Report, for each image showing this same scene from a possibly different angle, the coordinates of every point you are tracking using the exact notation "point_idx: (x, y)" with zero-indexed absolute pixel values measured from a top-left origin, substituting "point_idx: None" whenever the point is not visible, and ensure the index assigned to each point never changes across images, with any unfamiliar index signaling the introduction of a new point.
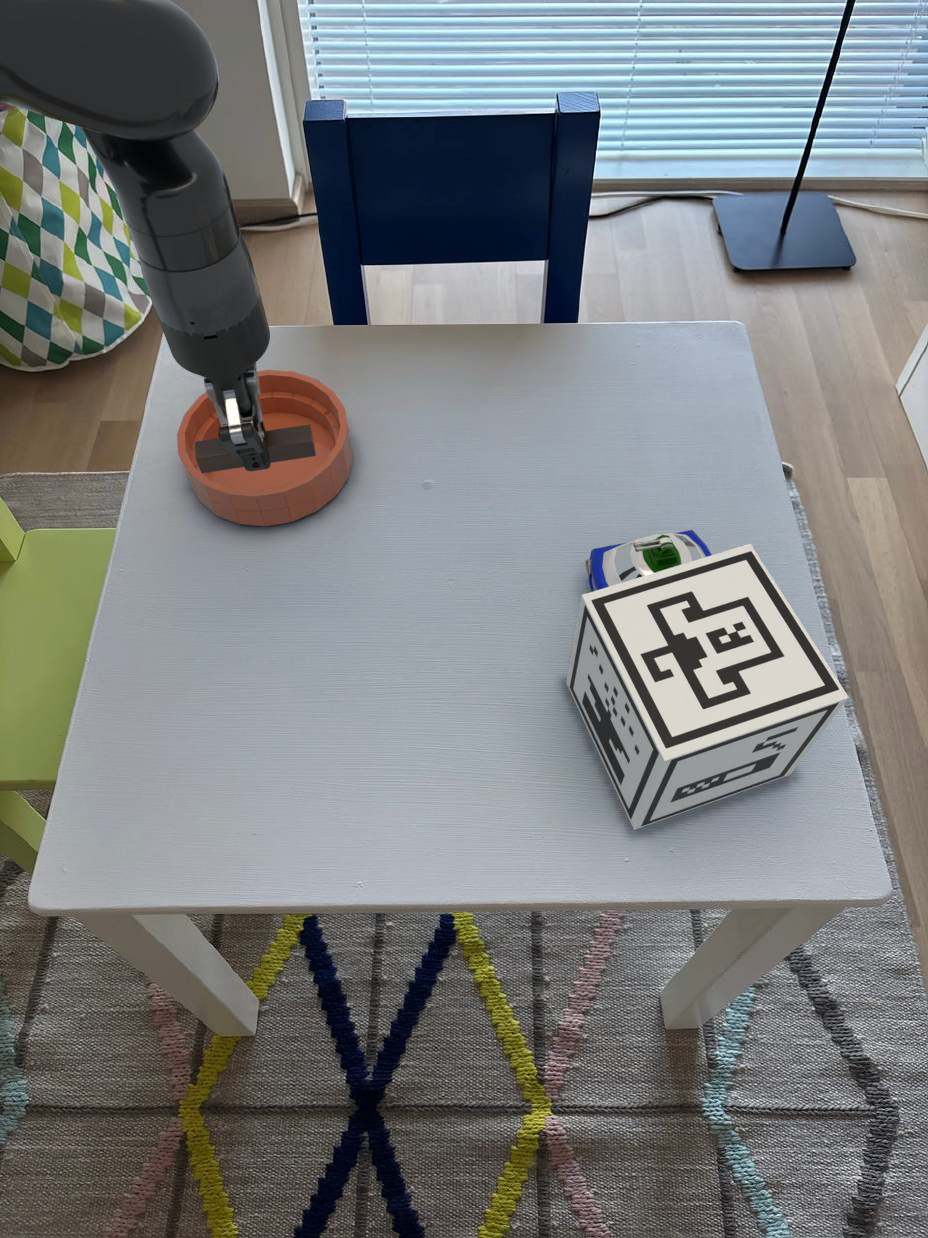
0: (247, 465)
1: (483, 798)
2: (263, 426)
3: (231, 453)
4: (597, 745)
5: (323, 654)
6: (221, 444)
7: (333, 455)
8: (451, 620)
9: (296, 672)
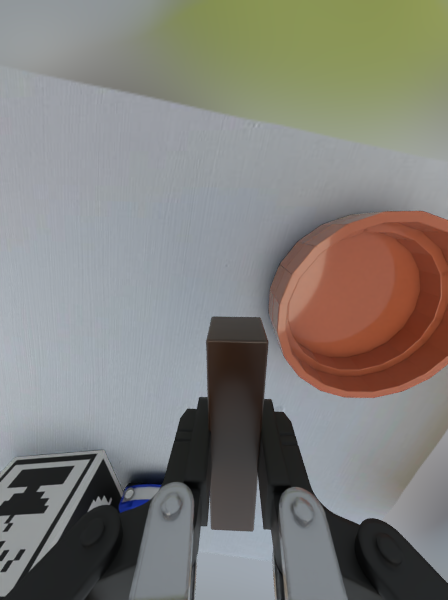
0: (178, 427)
1: (24, 397)
2: (259, 487)
3: (25, 575)
4: (57, 458)
5: (132, 319)
6: (239, 398)
7: (311, 381)
8: (155, 403)
9: (117, 298)
